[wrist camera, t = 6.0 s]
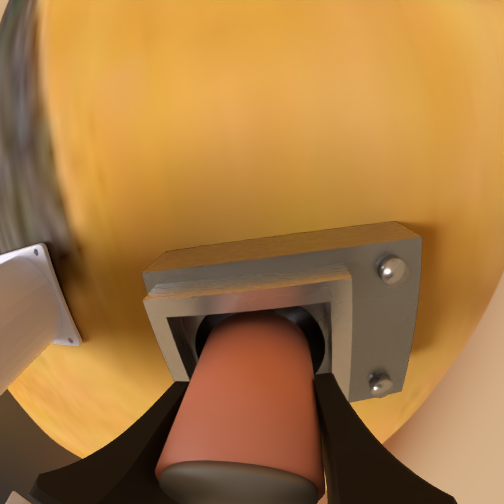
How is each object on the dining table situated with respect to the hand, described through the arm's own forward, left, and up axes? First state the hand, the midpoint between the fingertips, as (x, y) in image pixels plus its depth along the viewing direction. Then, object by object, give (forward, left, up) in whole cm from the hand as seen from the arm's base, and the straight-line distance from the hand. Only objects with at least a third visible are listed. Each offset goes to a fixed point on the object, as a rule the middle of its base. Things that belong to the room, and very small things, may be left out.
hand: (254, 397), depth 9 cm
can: (0, 0, -2) cm, 2 cm away
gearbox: (+2, 0, -6) cm, 6 cm away
